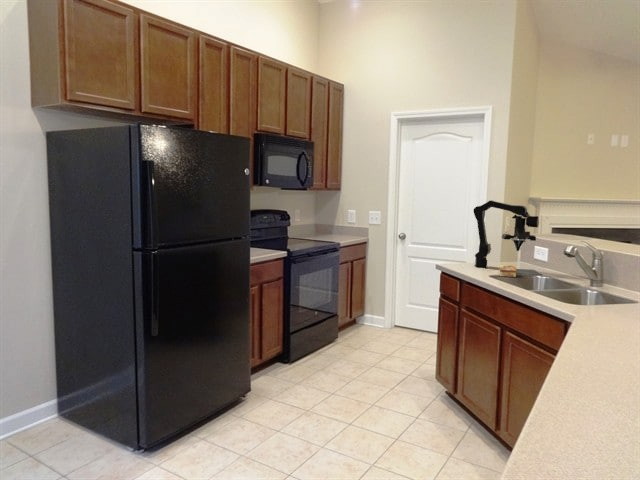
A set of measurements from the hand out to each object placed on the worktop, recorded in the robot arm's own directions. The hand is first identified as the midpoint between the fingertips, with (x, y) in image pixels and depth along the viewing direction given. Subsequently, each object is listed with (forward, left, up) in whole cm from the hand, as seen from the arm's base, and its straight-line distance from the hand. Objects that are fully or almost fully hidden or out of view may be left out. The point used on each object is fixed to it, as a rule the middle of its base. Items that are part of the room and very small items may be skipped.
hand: (517, 251), depth 292 cm
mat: (+5, -2, -13) cm, 14 cm away
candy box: (-6, -4, -10) cm, 13 cm away
